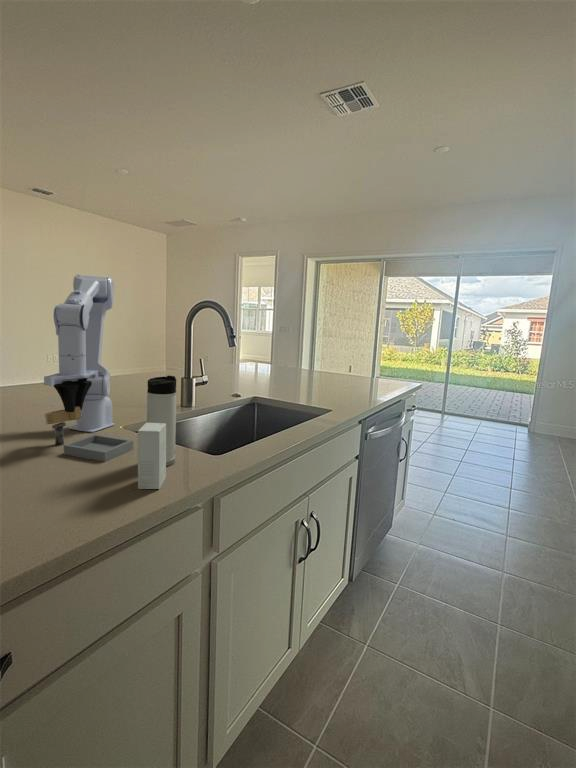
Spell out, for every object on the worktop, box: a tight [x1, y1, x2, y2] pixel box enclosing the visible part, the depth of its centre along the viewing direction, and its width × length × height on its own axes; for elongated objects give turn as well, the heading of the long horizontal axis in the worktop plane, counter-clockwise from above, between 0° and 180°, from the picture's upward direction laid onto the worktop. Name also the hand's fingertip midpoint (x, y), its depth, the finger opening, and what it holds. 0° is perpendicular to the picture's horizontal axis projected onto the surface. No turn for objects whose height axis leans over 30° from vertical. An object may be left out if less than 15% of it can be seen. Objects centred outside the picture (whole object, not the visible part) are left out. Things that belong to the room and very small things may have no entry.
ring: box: [44, 406, 82, 425], centre depth 97 cm, size 6×9×3 cm
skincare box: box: [137, 422, 167, 490], centre depth 79 cm, size 6×4×12 cm
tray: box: [63, 433, 134, 463], centre depth 95 cm, size 10×11×2 cm
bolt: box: [51, 421, 67, 446], centre depth 98 cm, size 3×2×5 cm, turn 165°
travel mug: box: [146, 375, 177, 467], centre depth 90 cm, size 6×7×20 cm
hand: (73, 410), depth 96 cm, fingers closed on ring, 2 cm apart
